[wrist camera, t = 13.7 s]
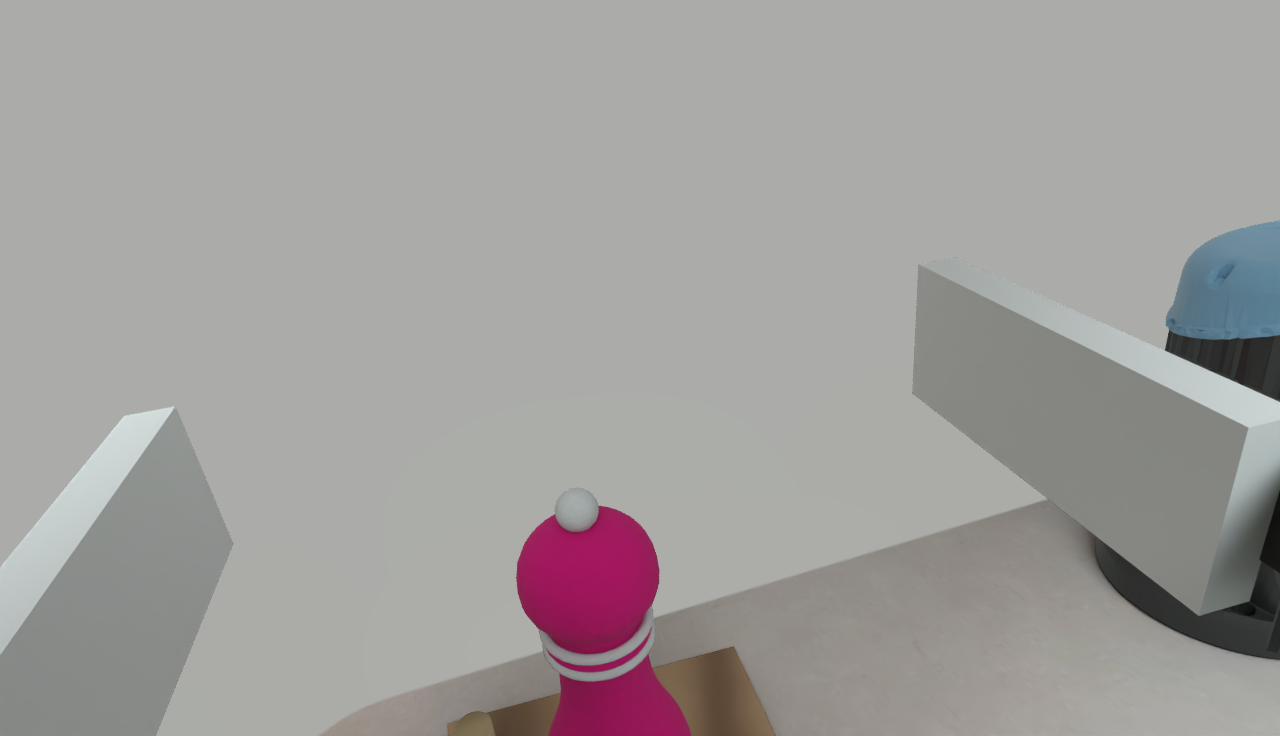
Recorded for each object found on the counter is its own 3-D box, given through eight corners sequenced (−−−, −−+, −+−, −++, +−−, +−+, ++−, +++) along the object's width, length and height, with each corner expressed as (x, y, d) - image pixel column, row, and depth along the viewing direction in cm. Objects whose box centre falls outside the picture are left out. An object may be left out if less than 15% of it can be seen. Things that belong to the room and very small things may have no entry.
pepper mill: (532, 847, 38) (444, 522, 30) (608, 734, 44) (553, 432, 35) (658, 918, 35) (600, 572, 26) (724, 785, 40) (694, 462, 32)
